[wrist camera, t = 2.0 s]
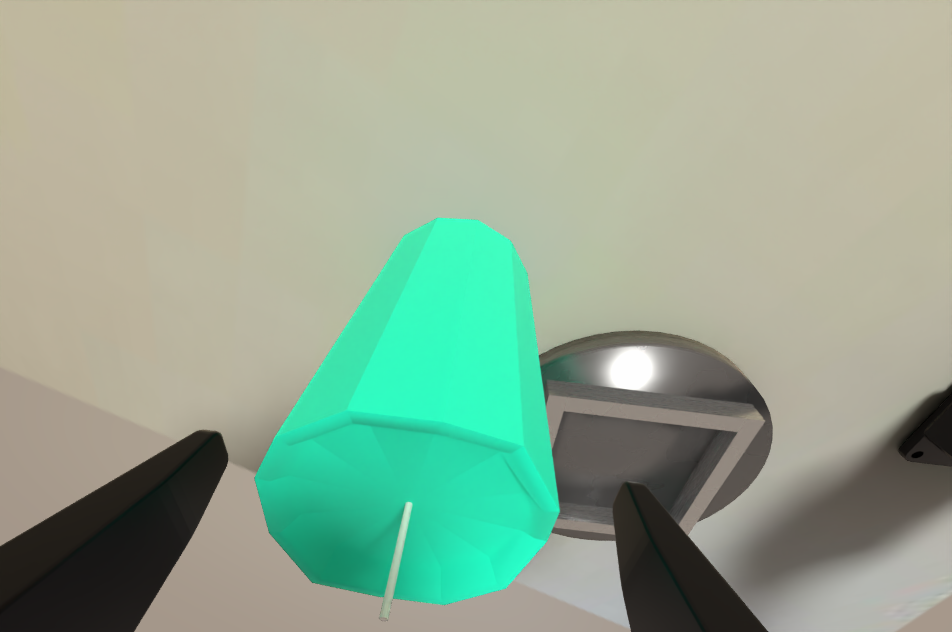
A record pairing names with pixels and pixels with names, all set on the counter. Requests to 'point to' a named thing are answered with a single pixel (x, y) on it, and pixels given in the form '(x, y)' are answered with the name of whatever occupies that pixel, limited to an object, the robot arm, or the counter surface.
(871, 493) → the counter surface
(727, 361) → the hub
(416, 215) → the counter surface
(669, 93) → the counter surface
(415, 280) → the candle
